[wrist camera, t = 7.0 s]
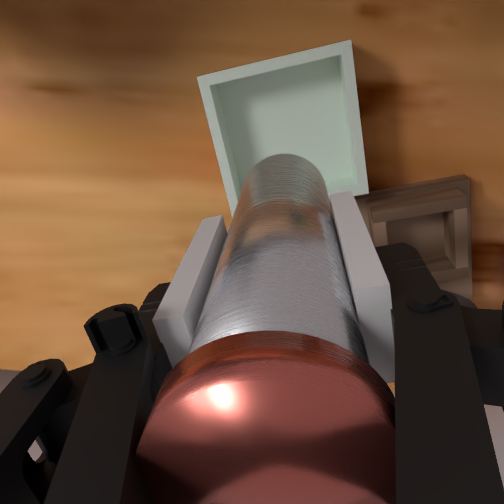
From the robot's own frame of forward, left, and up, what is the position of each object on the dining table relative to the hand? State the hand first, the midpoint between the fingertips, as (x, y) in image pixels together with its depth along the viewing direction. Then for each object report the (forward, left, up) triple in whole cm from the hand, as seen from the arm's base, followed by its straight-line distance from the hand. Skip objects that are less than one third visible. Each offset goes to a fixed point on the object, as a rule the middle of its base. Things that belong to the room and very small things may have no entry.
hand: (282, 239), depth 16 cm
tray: (0, 0, -24) cm, 24 cm away
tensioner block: (+13, +9, -24) cm, 29 cm away
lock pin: (0, 0, -5) cm, 5 cm away
